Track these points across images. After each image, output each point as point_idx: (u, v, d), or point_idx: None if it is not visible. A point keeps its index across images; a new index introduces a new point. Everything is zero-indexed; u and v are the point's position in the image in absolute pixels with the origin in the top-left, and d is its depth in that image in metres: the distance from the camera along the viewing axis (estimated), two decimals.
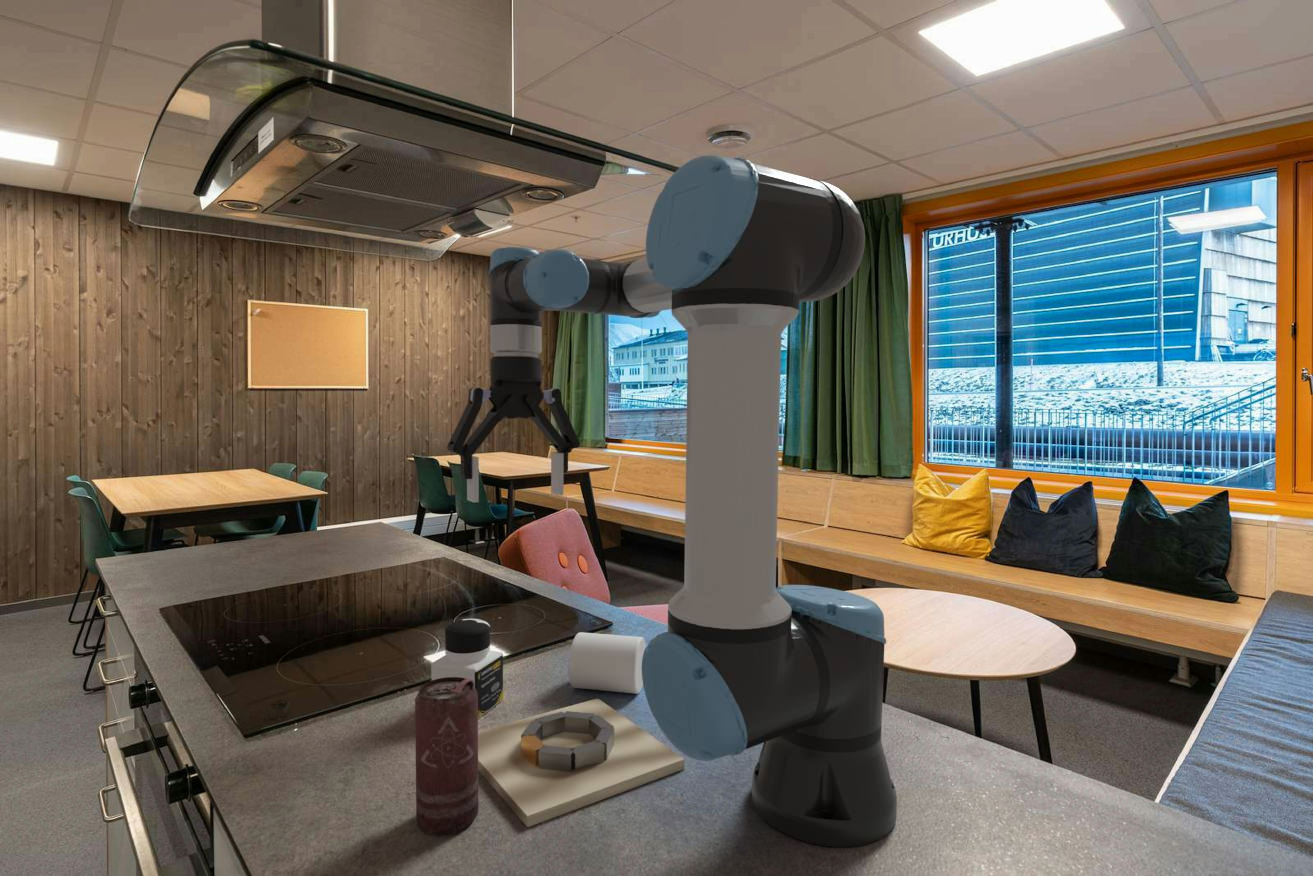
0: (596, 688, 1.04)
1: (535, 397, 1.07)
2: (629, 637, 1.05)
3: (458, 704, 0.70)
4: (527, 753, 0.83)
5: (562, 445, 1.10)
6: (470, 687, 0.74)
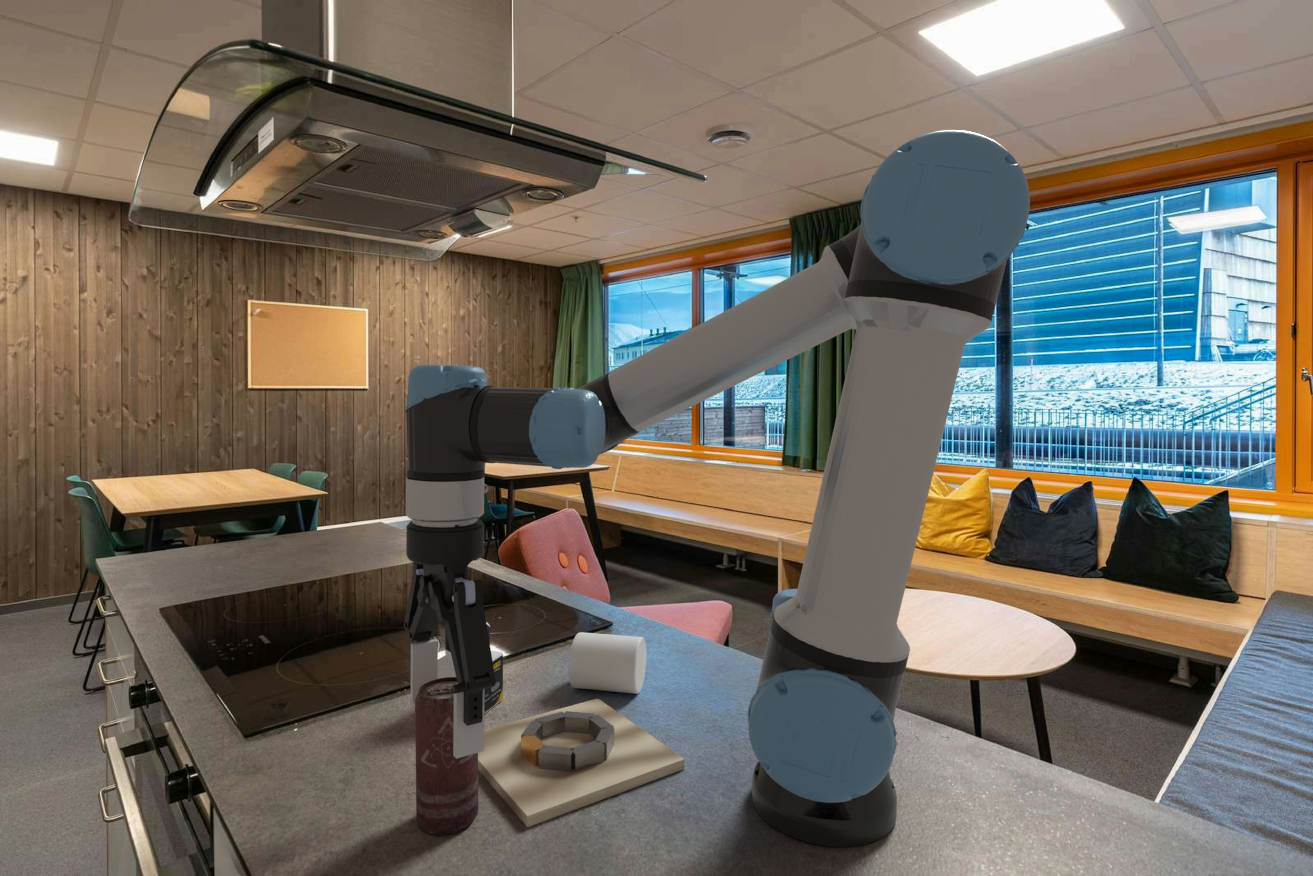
0: (596, 688, 1.04)
1: (443, 587, 0.69)
2: (629, 637, 1.05)
3: None
4: (527, 753, 0.83)
5: (457, 677, 0.66)
6: None
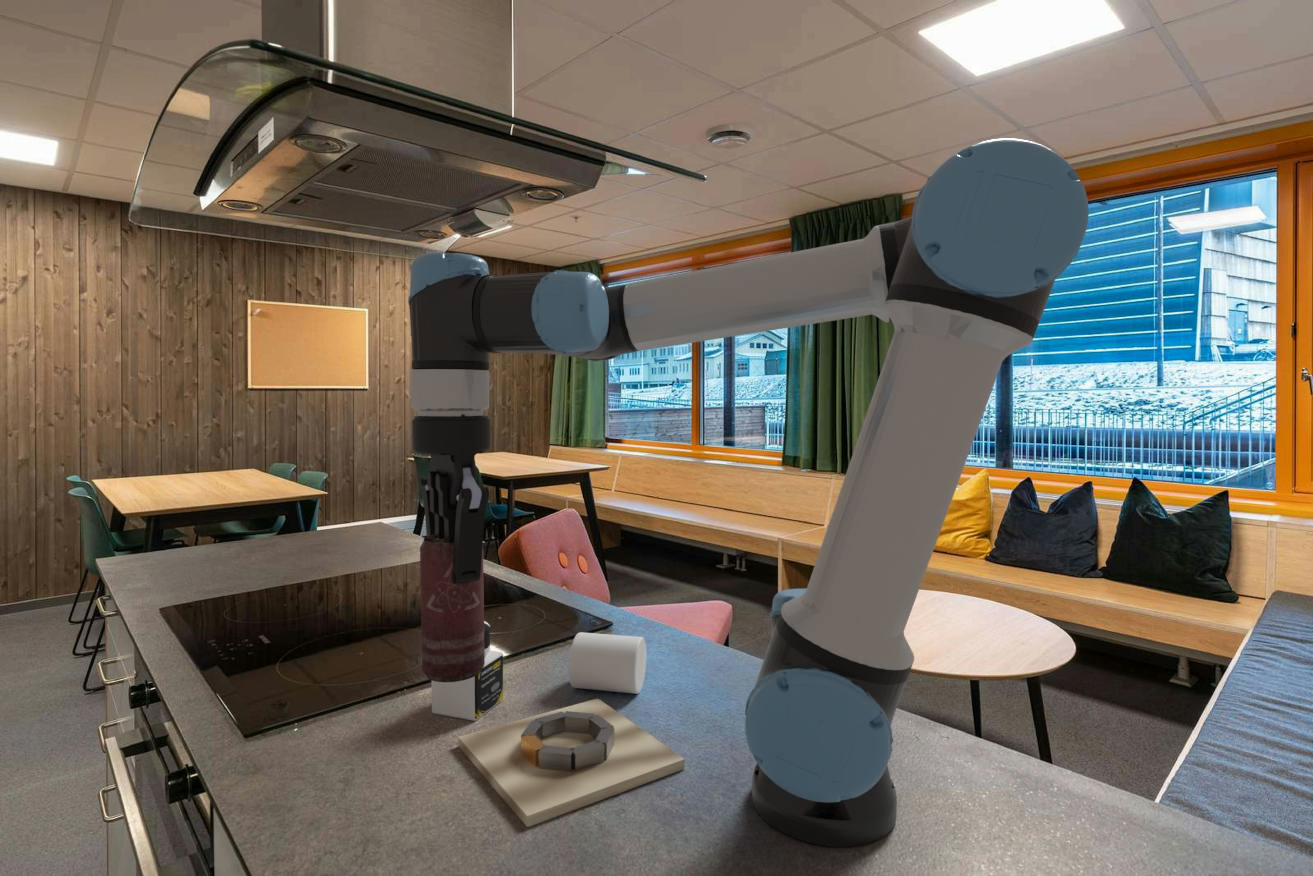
0: (596, 688, 1.04)
1: (451, 478, 0.69)
2: (629, 637, 1.05)
3: None
4: (527, 753, 0.83)
5: None
6: None
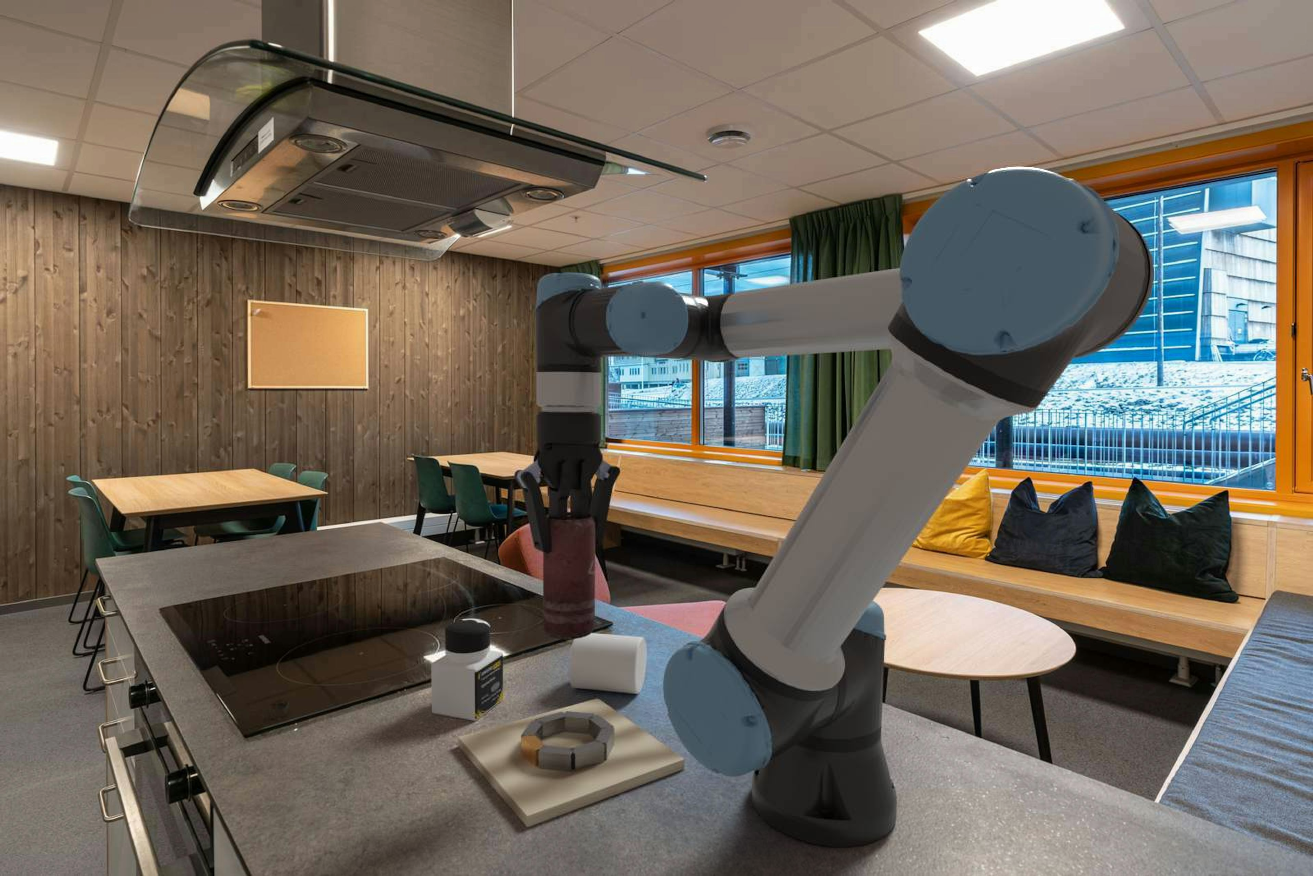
0: (596, 688, 1.04)
1: (592, 461, 0.84)
2: (629, 637, 1.05)
3: None
4: (527, 753, 0.83)
5: None
6: None
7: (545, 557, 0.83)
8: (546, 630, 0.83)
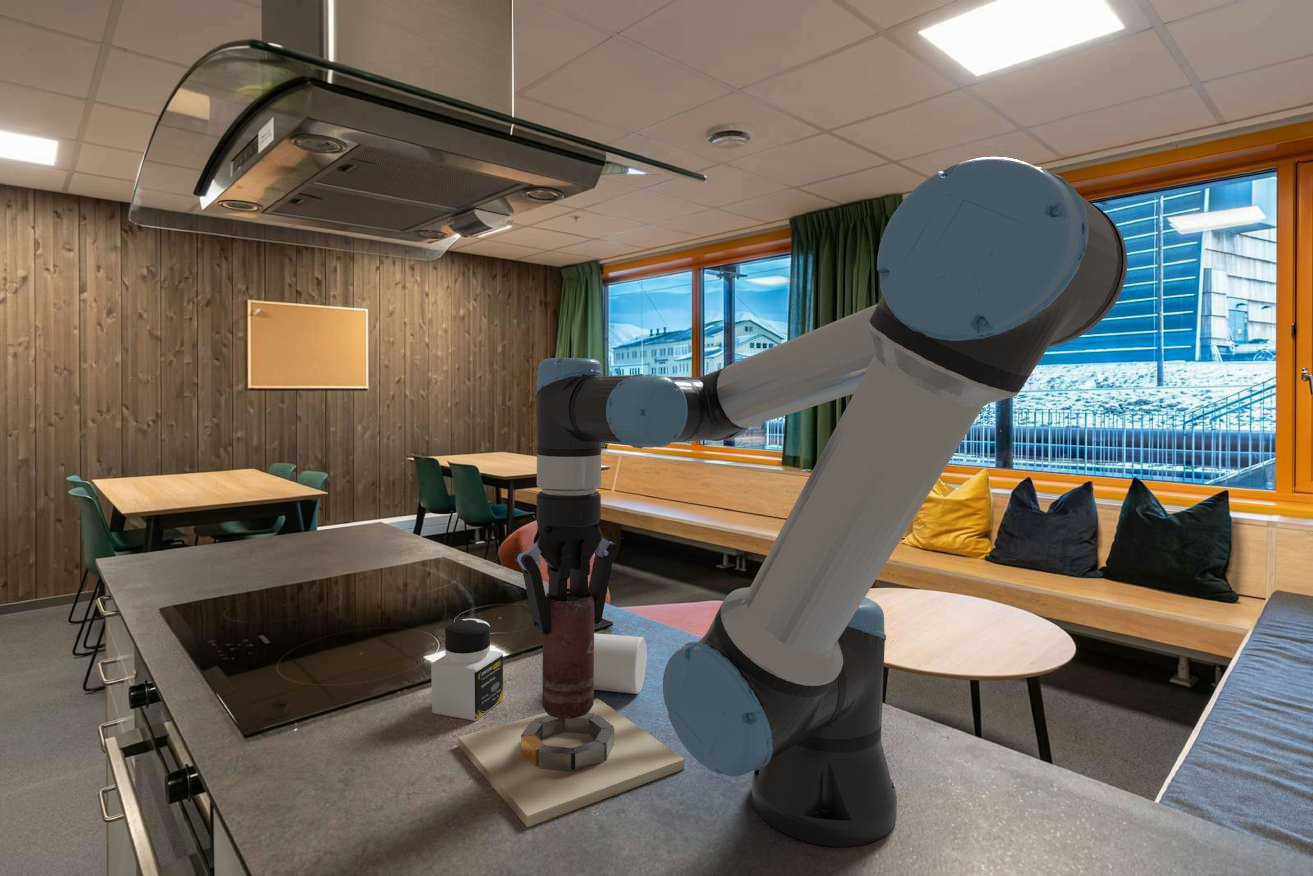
0: (596, 688, 1.04)
1: (592, 541, 0.85)
2: (629, 637, 1.05)
3: None
4: (527, 753, 0.83)
5: None
6: None
7: (545, 637, 0.83)
8: (545, 709, 0.84)
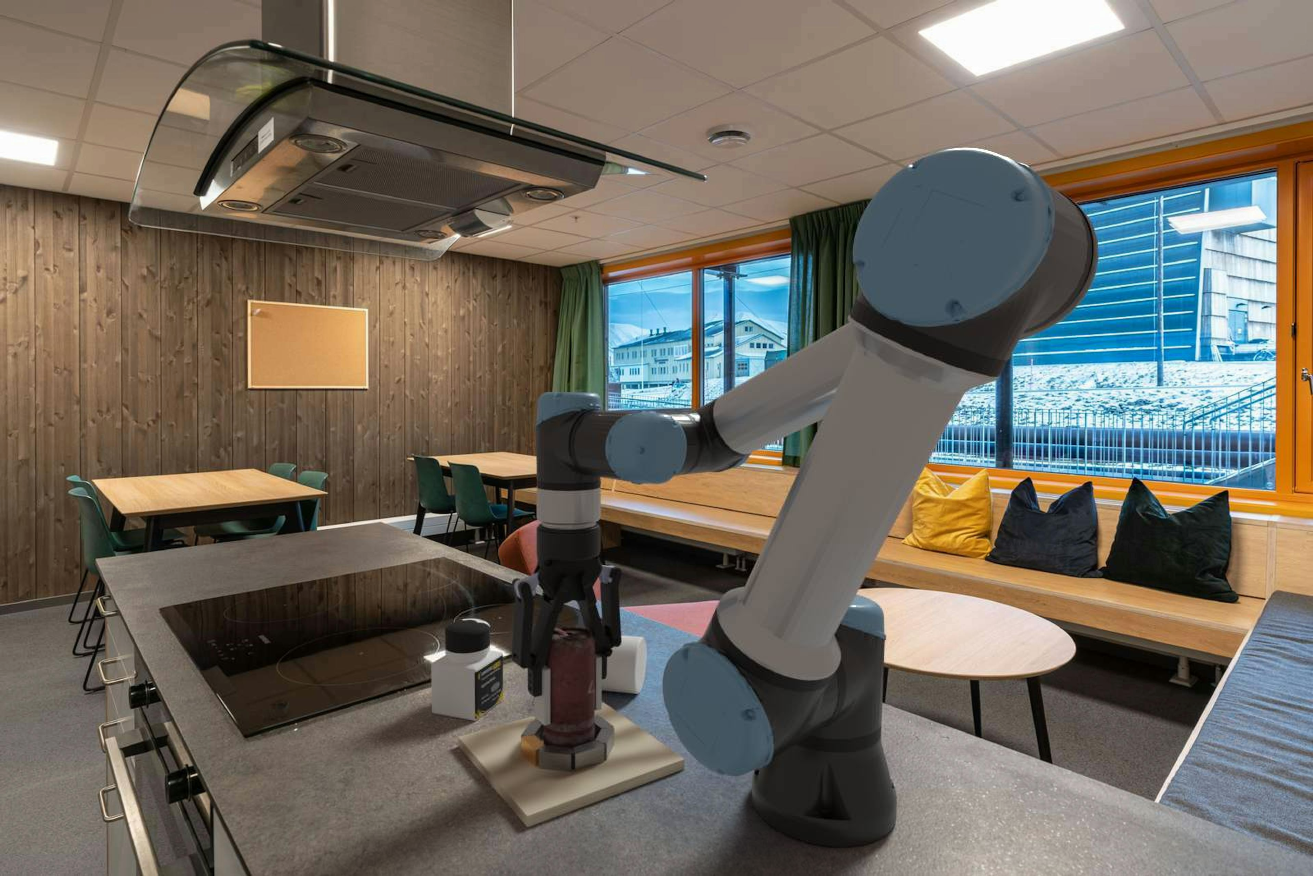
0: None
1: (592, 573, 0.85)
2: (629, 637, 1.05)
3: None
4: (527, 753, 0.83)
5: (602, 645, 0.87)
6: (564, 631, 0.87)
7: None
8: None
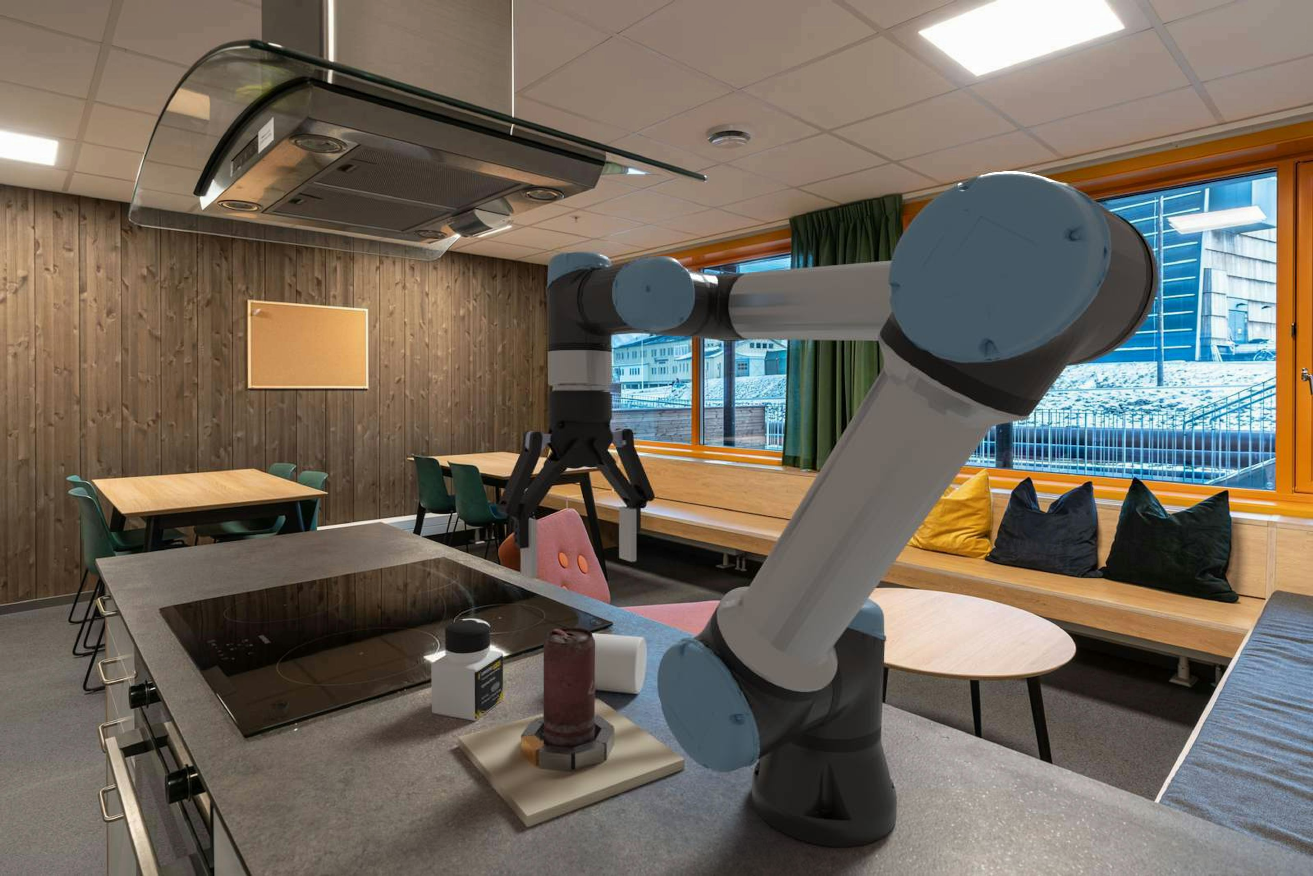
0: (596, 688, 1.04)
1: (603, 440, 0.85)
2: (629, 637, 1.05)
3: None
4: (527, 753, 0.83)
5: (635, 499, 0.88)
6: (564, 631, 0.87)
7: (545, 678, 0.84)
8: None
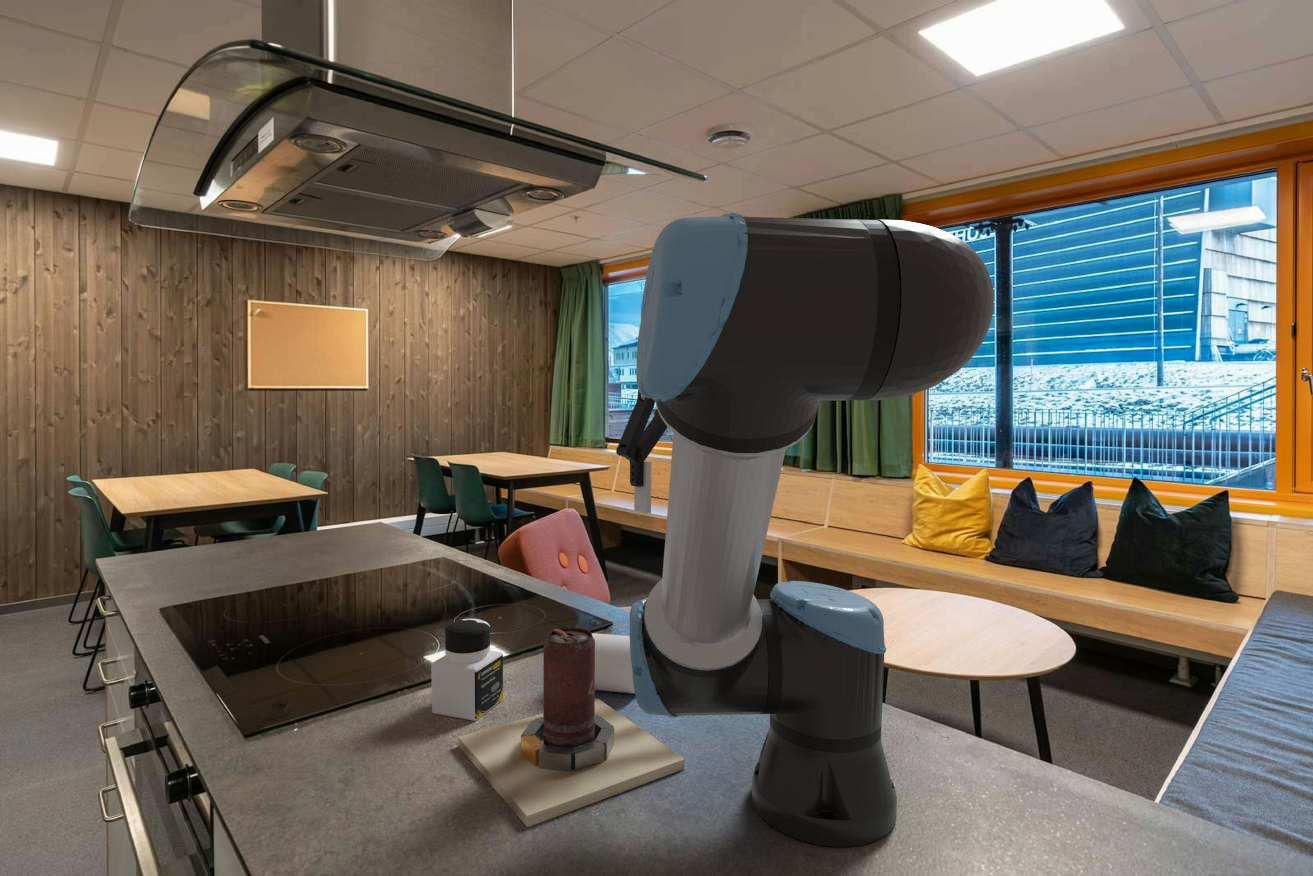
0: (596, 688, 1.04)
1: None
2: (629, 637, 1.05)
3: None
4: (527, 753, 0.83)
5: None
6: (564, 631, 0.87)
7: (545, 678, 0.84)
8: None
